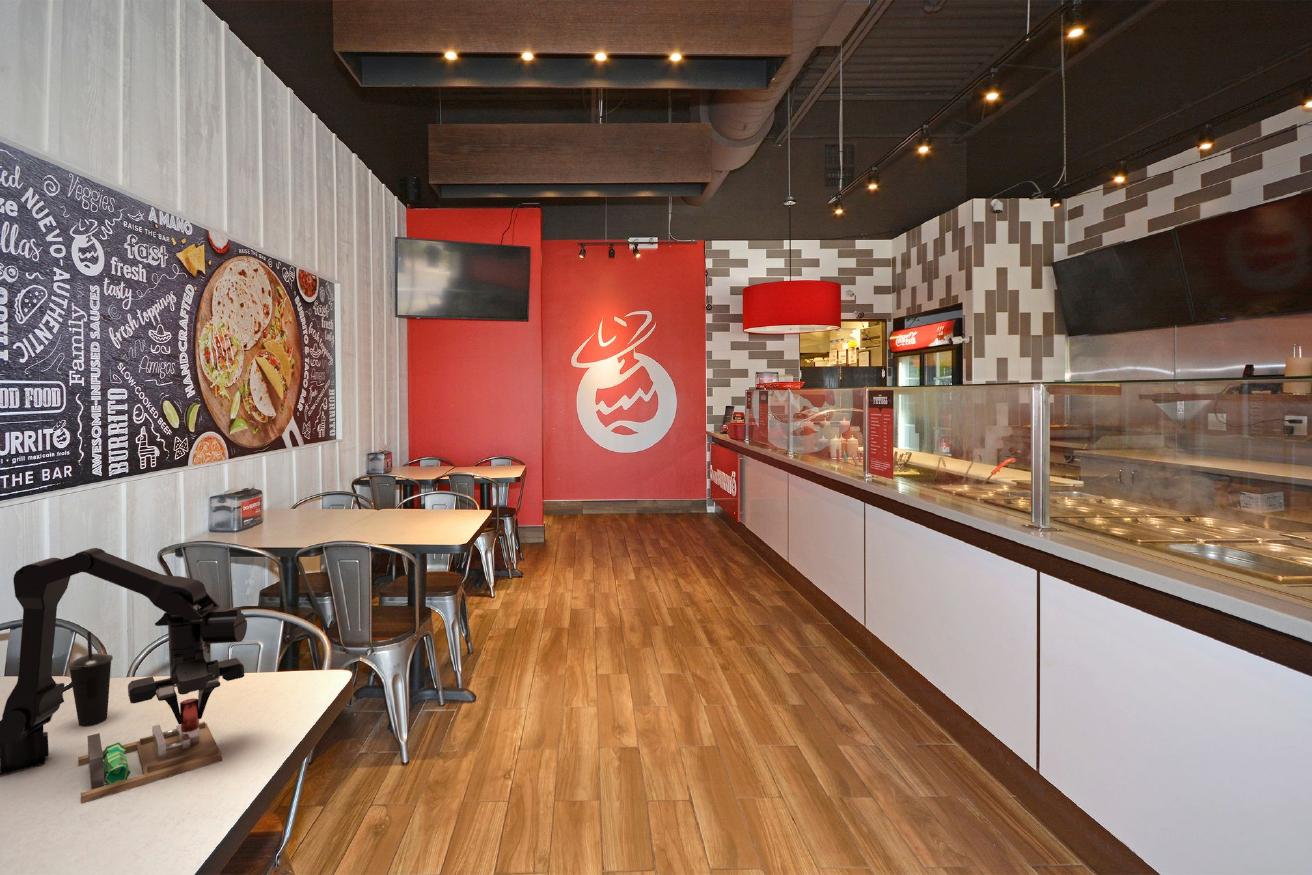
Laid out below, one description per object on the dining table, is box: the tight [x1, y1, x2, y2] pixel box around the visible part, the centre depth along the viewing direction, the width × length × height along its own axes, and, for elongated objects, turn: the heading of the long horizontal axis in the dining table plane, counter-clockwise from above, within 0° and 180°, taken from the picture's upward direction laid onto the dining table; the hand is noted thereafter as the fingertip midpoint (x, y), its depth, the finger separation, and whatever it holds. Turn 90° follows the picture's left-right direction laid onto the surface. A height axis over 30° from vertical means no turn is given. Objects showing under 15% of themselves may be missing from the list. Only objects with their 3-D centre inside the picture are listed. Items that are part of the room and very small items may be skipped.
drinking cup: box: [66, 631, 114, 727], centre depth 149 cm, size 8×8×20 cm
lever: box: [151, 697, 200, 762], centre depth 135 cm, size 7×10×8 cm
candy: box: [103, 742, 131, 785], centre depth 128 cm, size 12×3×4 cm
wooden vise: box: [77, 721, 223, 804], centre depth 132 cm, size 21×18×6 cm
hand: (189, 721), depth 136 cm, fingers closed on lever, 3 cm apart
